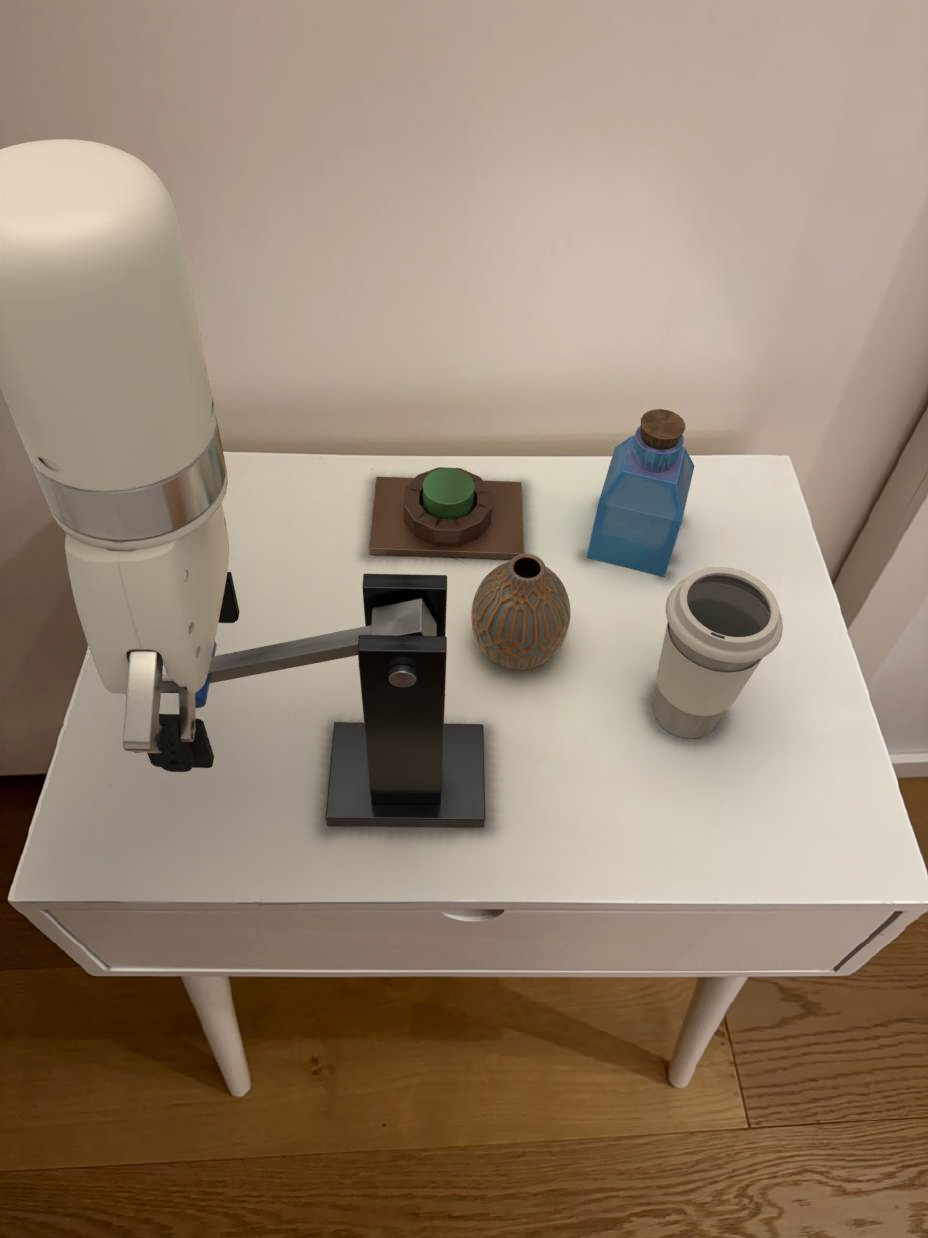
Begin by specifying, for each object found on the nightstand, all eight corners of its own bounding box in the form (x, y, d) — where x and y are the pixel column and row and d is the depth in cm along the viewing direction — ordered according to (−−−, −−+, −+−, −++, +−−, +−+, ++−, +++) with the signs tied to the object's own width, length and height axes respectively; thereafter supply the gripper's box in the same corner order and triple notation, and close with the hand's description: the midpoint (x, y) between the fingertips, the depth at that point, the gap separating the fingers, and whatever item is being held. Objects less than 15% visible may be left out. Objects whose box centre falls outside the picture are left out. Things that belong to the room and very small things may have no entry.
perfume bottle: (586, 557, 75) (610, 442, 65) (602, 503, 79) (627, 387, 69) (664, 576, 74) (700, 462, 64) (677, 521, 78) (712, 405, 68)
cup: (622, 728, 66) (656, 622, 56) (650, 656, 69) (687, 546, 60) (723, 767, 64) (775, 665, 54) (746, 692, 68) (799, 584, 58)
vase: (484, 693, 67) (491, 617, 60) (458, 617, 71) (462, 537, 64) (577, 673, 68) (594, 596, 61) (546, 600, 72) (559, 520, 65)
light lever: (195, 715, 53) (172, 693, 51) (207, 656, 55) (185, 632, 53) (436, 671, 49) (421, 645, 47) (437, 610, 52) (422, 583, 50)
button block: (369, 554, 74) (367, 532, 72) (376, 482, 79) (375, 459, 77) (522, 560, 75) (525, 538, 73) (520, 487, 79) (523, 465, 77)
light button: (421, 519, 74) (421, 503, 73) (423, 482, 76) (423, 466, 75) (473, 520, 74) (474, 505, 73) (473, 484, 76) (474, 468, 75)
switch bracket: (326, 826, 60) (298, 666, 46) (335, 730, 65) (311, 557, 50) (484, 828, 61) (503, 669, 47) (482, 732, 65) (499, 561, 51)
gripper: (90, 332, 45) (160, 568, 59) (-21, 621, 35) (96, 827, 48) (249, 339, 46) (283, 571, 59) (187, 627, 35) (245, 830, 49)
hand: (199, 686), depth 54 cm, fingers open, 9 cm apart
